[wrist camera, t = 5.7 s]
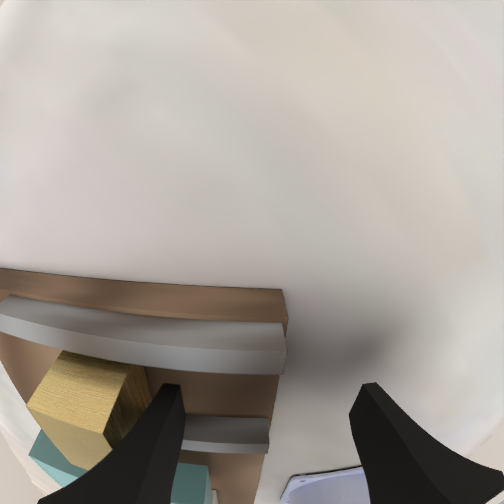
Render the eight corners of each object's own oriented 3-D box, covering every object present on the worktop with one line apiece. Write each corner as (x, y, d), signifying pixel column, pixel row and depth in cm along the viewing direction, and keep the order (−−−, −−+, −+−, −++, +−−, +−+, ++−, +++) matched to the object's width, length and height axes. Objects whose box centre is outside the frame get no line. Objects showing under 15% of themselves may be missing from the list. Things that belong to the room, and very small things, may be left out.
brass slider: (138, 347, 9) (102, 433, 6) (155, 411, 11) (137, 484, 7) (72, 336, 9) (25, 405, 6) (98, 400, 11) (71, 464, 7)
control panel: (281, 289, 11) (294, 346, 8) (252, 489, 19) (253, 520, 16) (-11, 266, 11) (-49, 294, 7) (92, 464, 18) (84, 490, 15)
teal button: (207, 465, 11) (204, 506, 8) (212, 493, 13) (211, 525, 10) (43, 425, 10) (28, 455, 8) (74, 463, 12) (64, 488, 10)
